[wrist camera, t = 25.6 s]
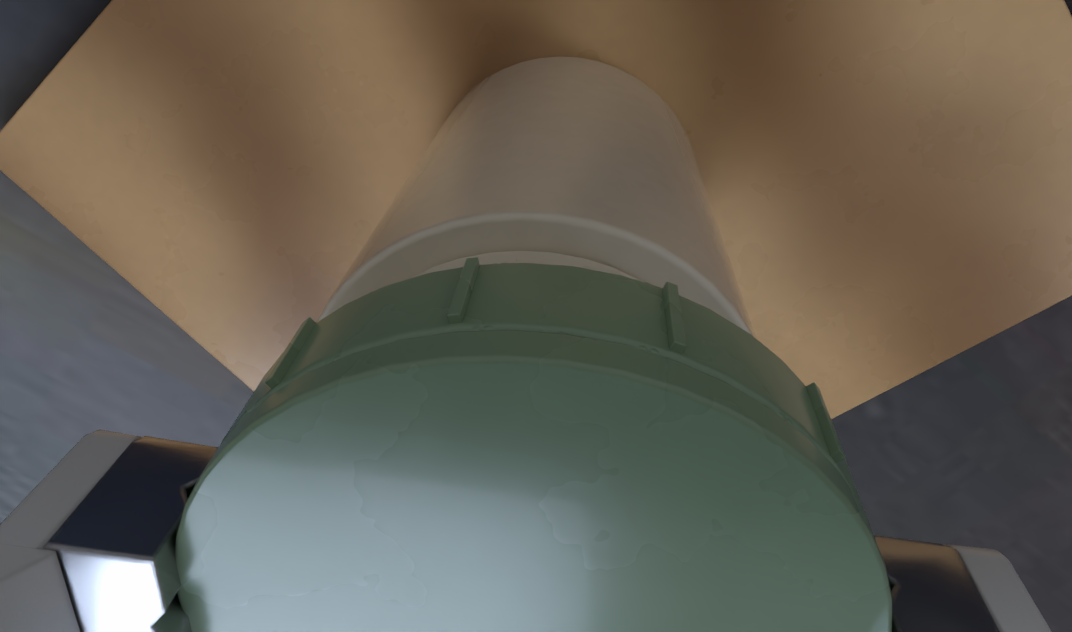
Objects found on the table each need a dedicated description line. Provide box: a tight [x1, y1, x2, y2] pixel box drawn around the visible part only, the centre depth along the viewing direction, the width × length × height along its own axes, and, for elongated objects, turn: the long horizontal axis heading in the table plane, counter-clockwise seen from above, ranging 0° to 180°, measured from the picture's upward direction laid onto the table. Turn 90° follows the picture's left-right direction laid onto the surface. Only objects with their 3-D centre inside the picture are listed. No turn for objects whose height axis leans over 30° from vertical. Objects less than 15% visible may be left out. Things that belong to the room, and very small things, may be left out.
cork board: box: [0, 0, 1072, 419], centre depth 17 cm, size 20×18×1 cm
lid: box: [175, 257, 892, 632], centre depth 8 cm, size 7×7×2 cm
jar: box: [316, 56, 756, 338], centre depth 13 cm, size 6×6×10 cm
